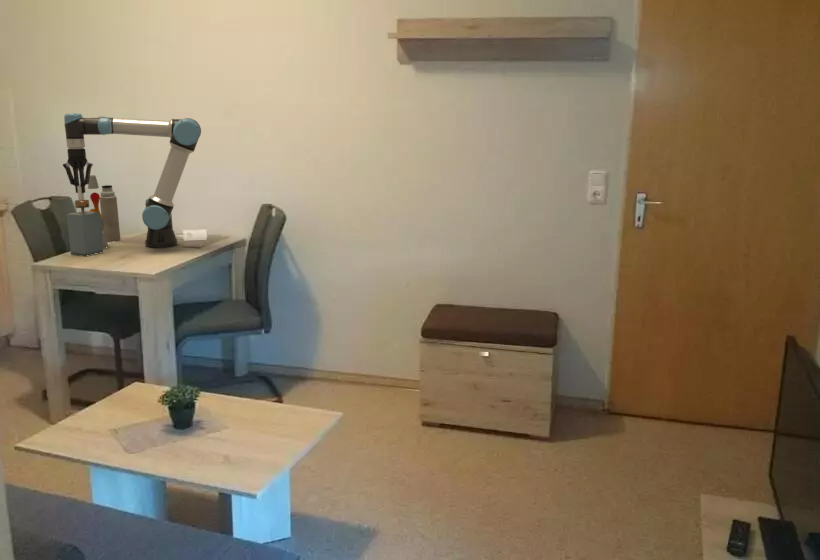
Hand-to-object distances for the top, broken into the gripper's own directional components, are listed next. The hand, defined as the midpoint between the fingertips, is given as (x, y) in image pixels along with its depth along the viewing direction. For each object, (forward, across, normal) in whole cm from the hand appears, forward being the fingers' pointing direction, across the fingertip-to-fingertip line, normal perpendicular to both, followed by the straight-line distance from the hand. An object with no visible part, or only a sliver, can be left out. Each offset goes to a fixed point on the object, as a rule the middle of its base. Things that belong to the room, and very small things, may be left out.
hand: (81, 200), depth 355 cm
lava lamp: (+25, +1, +14) cm, 29 cm away
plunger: (+22, 0, 0) cm, 22 cm away
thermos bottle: (+25, +1, +33) cm, 42 cm away
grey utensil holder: (+25, 0, 0) cm, 25 cm away
